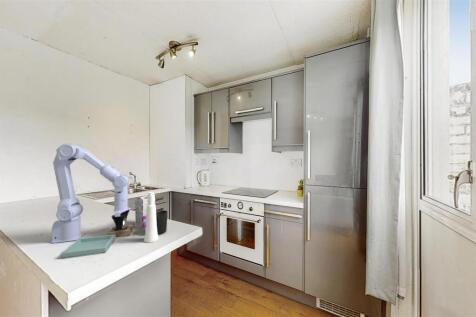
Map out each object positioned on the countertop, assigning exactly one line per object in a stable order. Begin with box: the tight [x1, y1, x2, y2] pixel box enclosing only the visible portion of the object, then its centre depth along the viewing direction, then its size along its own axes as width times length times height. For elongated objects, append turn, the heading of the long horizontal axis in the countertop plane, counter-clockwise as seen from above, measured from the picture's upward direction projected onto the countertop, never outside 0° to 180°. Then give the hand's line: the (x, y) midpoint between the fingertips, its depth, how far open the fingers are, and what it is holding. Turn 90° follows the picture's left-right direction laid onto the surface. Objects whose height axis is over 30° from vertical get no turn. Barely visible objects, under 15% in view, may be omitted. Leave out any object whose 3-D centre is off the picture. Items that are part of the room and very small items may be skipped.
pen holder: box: [156, 209, 168, 236], centre depth 96 cm, size 9×9×10 cm
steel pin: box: [117, 218, 127, 231], centre depth 95 cm, size 4×4×8 cm
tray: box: [61, 234, 117, 260], centre depth 80 cm, size 14×14×2 cm
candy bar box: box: [134, 194, 148, 230], centre depth 107 cm, size 11×5×16 cm, turn 168°
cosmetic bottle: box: [143, 191, 159, 244], centre depth 87 cm, size 6×6×22 cm
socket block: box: [107, 224, 134, 238], centre depth 95 cm, size 9×9×2 cm
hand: (121, 227), depth 95 cm, fingers open, 6 cm apart
